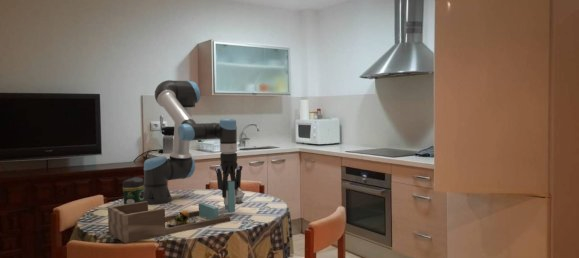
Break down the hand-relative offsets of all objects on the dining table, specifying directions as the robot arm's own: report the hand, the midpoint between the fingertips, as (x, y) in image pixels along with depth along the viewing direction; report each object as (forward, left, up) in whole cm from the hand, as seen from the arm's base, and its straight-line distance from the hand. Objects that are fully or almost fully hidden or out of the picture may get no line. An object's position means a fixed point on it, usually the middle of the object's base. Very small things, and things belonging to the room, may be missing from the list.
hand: (229, 203), depth 189 cm
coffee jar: (-22, -36, -5) cm, 42 cm away
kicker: (0, -5, -5) cm, 7 cm away
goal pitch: (0, -28, -5) cm, 28 cm away
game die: (-20, +16, -5) cm, 26 cm away
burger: (0, -24, -6) cm, 24 cm away
